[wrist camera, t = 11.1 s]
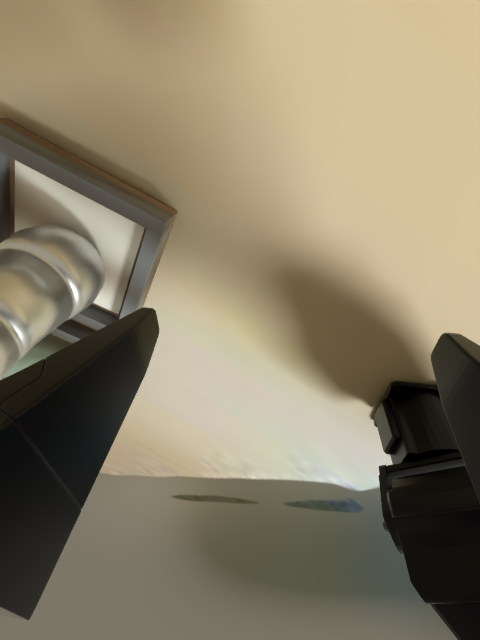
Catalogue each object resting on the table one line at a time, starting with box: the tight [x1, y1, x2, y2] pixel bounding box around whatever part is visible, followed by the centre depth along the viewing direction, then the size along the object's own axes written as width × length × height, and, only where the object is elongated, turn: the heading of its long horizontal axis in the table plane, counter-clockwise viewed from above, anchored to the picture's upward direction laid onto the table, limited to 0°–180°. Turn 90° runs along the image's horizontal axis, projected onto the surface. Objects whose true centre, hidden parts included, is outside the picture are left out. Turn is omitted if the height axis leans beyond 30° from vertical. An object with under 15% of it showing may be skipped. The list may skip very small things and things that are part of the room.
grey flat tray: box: [0, 118, 177, 380], centre depth 25 cm, size 26×12×6 cm, turn 153°
